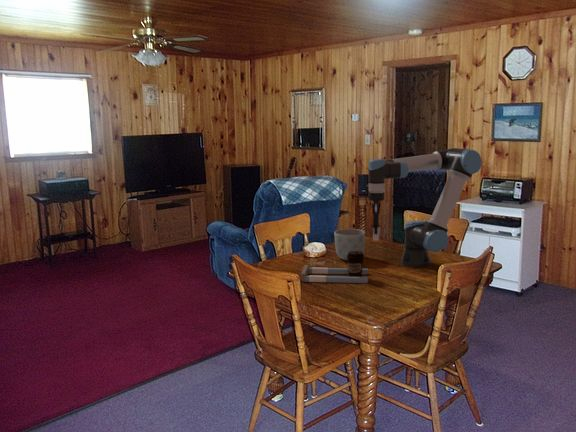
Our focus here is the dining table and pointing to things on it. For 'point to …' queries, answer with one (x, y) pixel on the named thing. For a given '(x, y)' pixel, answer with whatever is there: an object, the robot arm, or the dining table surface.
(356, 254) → the coffee cup
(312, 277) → the beam slot
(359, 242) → the planter
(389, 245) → the dining table surface
